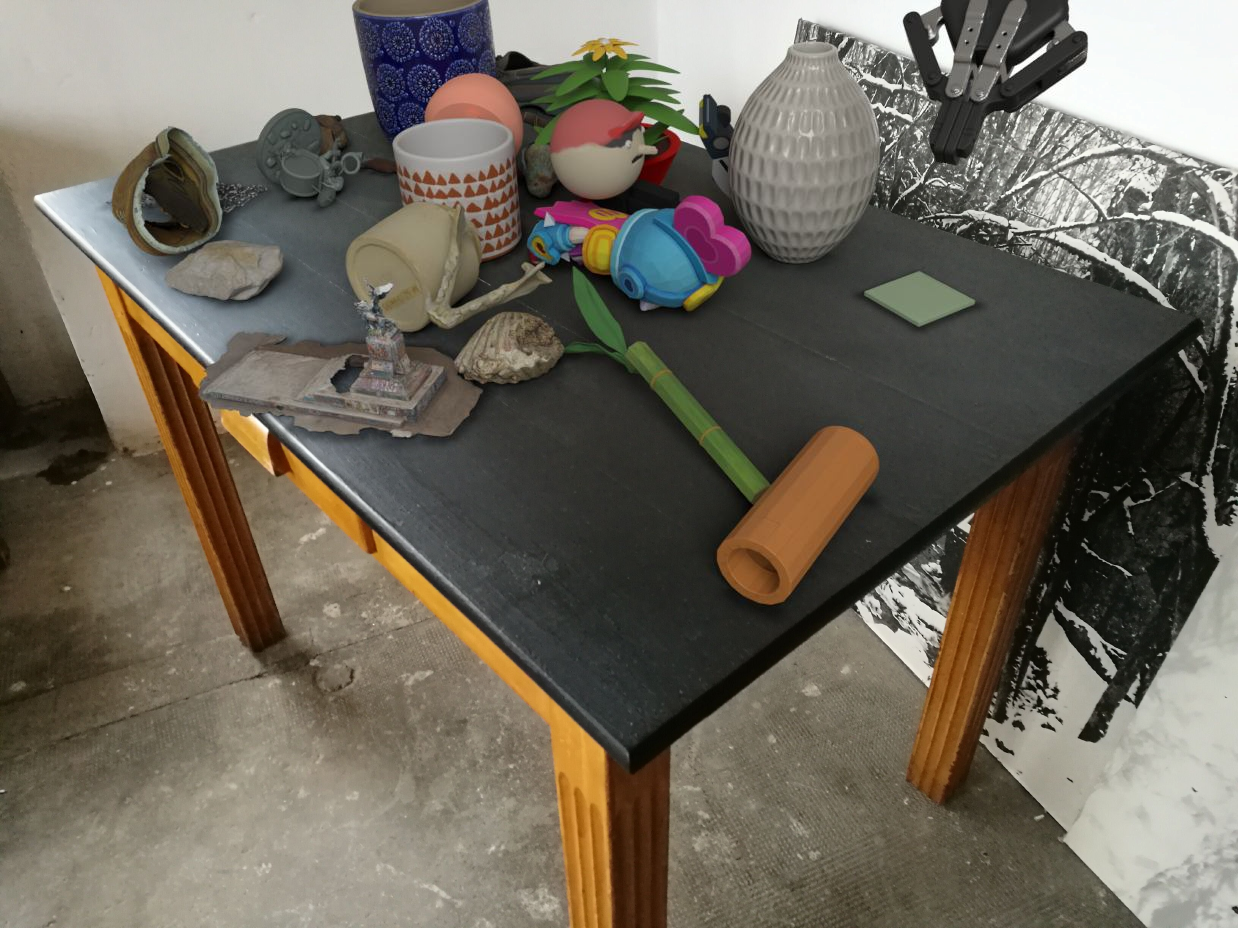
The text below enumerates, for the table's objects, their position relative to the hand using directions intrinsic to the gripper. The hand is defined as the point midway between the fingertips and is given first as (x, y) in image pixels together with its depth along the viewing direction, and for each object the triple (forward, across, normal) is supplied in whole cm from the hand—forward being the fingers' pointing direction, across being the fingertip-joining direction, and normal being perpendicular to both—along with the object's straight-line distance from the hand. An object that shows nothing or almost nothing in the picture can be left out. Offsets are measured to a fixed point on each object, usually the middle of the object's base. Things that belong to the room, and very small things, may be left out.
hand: (945, 159), depth 63 cm
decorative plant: (+23, -18, +11) cm, 32 cm away
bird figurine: (-15, -66, +43) cm, 80 cm away
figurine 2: (+2, -101, +31) cm, 106 cm away
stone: (+21, -74, +10) cm, 78 cm away
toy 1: (+2, -39, +22) cm, 44 cm away
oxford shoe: (+16, -89, +9) cm, 90 cm away
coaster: (+2, -6, +34) cm, 35 cm away
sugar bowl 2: (0, -62, +24) cm, 66 cm away
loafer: (-19, -83, +57) cm, 103 cm away
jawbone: (+20, -42, +8) cm, 47 cm away
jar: (+21, -1, +9) cm, 23 cm away
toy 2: (+2, -29, +28) cm, 41 cm away
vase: (-1, -22, +37) cm, 43 cm away
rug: (+17, -102, +17) cm, 104 cm away
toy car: (-11, -32, +35) cm, 49 cm away
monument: (+32, -49, +3) cm, 58 cm away
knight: (+7, -47, +24) cm, 54 cm away
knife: (+5, -74, +31) cm, 81 cm away
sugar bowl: (+21, -52, +6) cm, 57 cm away
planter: (-3, -82, +40) cm, 91 cm away
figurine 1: (+6, -92, +22) cm, 95 cm away
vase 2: (+11, -58, +25) cm, 64 cm away
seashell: (+20, -31, +7) cm, 37 cm away
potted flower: (-1, -48, +37) cm, 61 cm away
